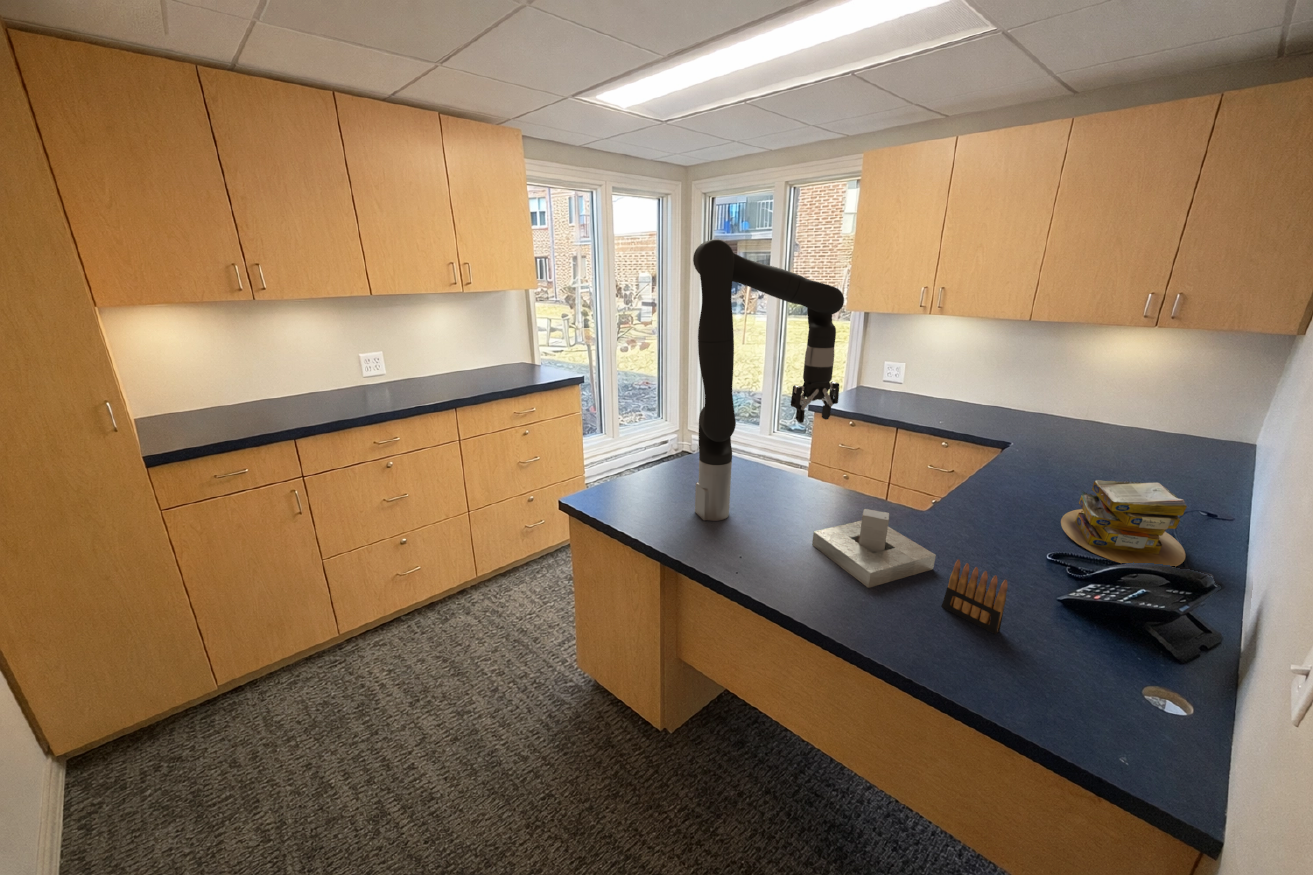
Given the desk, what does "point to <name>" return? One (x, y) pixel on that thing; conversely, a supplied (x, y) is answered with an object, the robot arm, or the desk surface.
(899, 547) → the frame
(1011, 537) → the desk surface
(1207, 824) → the desk surface
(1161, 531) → the stacked yellow boxes
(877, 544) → the skincare box
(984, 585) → the ammunition clip
